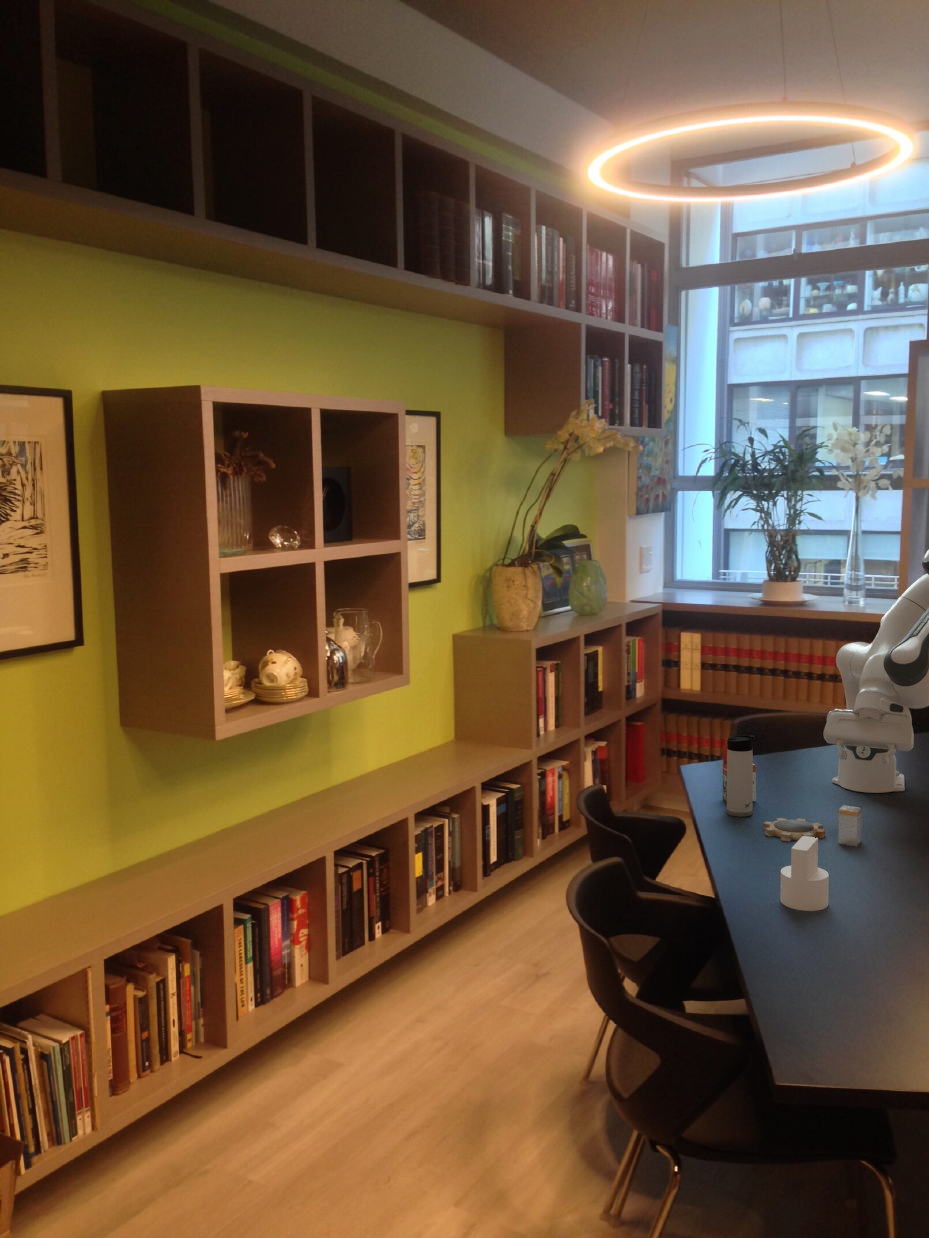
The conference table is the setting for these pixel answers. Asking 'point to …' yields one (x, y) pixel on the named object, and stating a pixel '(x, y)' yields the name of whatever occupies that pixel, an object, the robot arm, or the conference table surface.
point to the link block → (849, 825)
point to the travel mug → (740, 775)
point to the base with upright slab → (804, 878)
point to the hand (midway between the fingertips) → (863, 760)
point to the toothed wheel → (793, 829)
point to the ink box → (726, 776)
